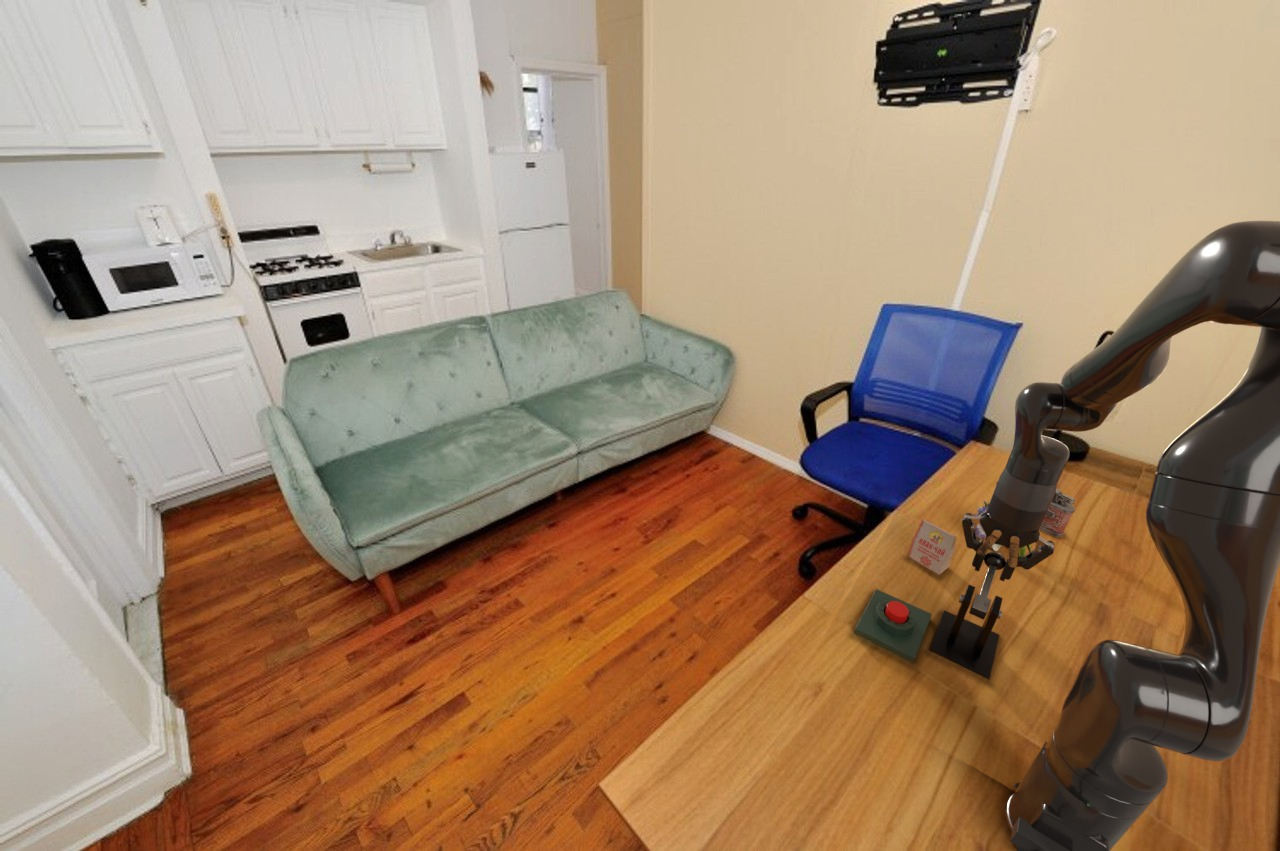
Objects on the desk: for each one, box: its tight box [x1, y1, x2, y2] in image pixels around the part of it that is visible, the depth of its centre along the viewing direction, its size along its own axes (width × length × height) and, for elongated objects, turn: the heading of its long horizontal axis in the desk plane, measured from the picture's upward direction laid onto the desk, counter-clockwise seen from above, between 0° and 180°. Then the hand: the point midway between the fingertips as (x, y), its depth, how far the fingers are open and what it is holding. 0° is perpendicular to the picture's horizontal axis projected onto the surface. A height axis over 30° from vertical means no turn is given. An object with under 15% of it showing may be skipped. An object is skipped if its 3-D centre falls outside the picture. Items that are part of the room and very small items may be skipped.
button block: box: [853, 588, 932, 664], centre depth 92 cm, size 12×10×4 cm
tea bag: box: [907, 519, 957, 576], centre depth 105 cm, size 4×7×10 cm, turn 35°
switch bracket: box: [929, 584, 1003, 680], centre depth 87 cm, size 11×9×12 cm
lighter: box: [1039, 488, 1076, 538], centre depth 115 cm, size 8×3×10 cm, turn 25°
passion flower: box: [960, 500, 1032, 557], centre depth 112 cm, size 11×11×12 cm
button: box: [885, 601, 909, 623], centre depth 91 cm, size 4×4×2 cm
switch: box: [968, 551, 1007, 621], centre depth 87 cm, size 13×3×3 cm, turn 141°
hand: (989, 572), depth 91 cm, fingers closed on switch, 3 cm apart
